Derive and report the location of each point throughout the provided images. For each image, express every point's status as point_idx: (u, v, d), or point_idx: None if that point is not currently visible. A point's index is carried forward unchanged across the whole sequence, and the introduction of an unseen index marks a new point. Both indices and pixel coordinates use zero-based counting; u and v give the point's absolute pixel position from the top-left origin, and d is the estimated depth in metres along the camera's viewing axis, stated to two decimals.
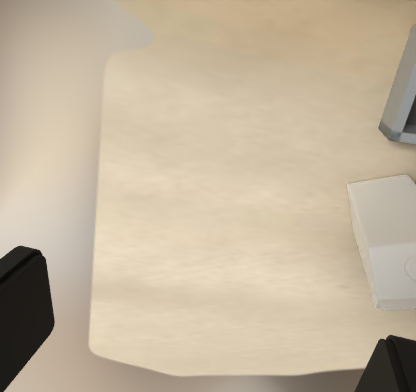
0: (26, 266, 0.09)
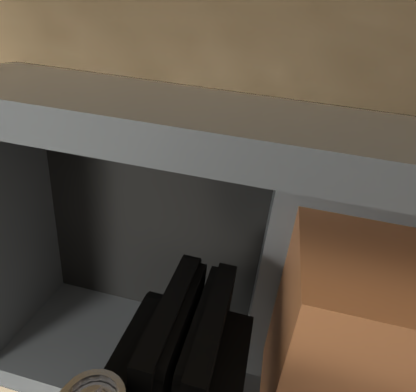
0: (201, 274, 0.09)
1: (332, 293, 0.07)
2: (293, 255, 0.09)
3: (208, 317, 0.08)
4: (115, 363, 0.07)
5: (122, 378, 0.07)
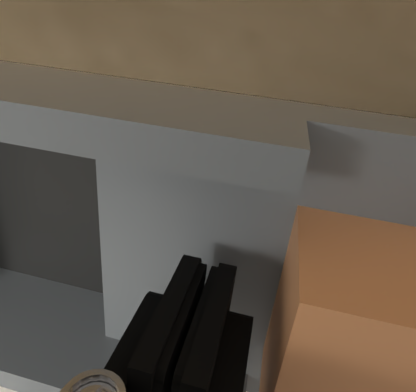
0: (201, 274, 0.09)
1: (330, 292, 0.07)
2: (292, 254, 0.09)
3: (208, 317, 0.08)
4: (115, 363, 0.07)
5: (122, 378, 0.07)
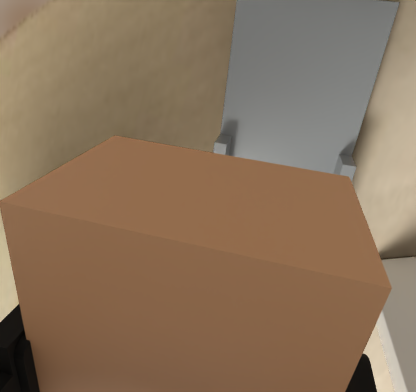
0: None
1: None
2: None
3: None
4: None
5: None
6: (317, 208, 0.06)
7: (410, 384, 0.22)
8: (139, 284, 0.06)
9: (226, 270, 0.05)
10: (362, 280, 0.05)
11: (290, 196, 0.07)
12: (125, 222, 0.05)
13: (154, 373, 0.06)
